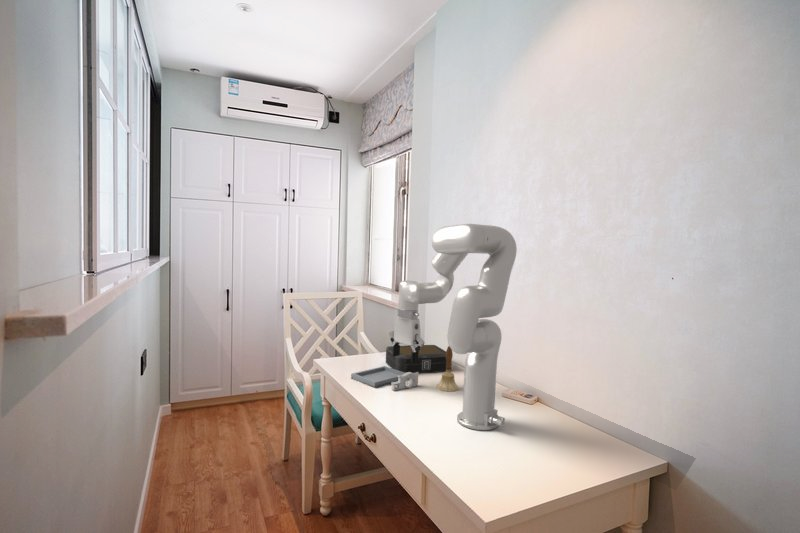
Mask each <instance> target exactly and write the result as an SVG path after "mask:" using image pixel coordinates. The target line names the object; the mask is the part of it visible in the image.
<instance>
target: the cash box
mask: <svg viewBox="0 0 800 533" xmlns="http://www.w3.org/2000/svg"><path fill="white" fill-rule="evenodd" d="M414 347H415V346H414ZM415 348H416V347H415ZM446 351H447V350H444V349H443V348H441V347H439V346H437V345H435V344H424V345H423V348H422V349H421V350H420V351H419V354H418V362H414V363H412V362H411V354H412V352H413V350H412V348H411V346H408V345H400V355H399V356H393V346H392V345H391V346H390V345H389V346H386V349H385V363H386V365H388V367H389V368H392V369H395V370H398V371H401V372H404V373H407V372H411V373H416V372H418V373H419V374H432V373H433V374H434V373H444V372H446V367H447V361H446ZM452 362H453V360H452V361H451V365H452Z"/></svg>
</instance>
